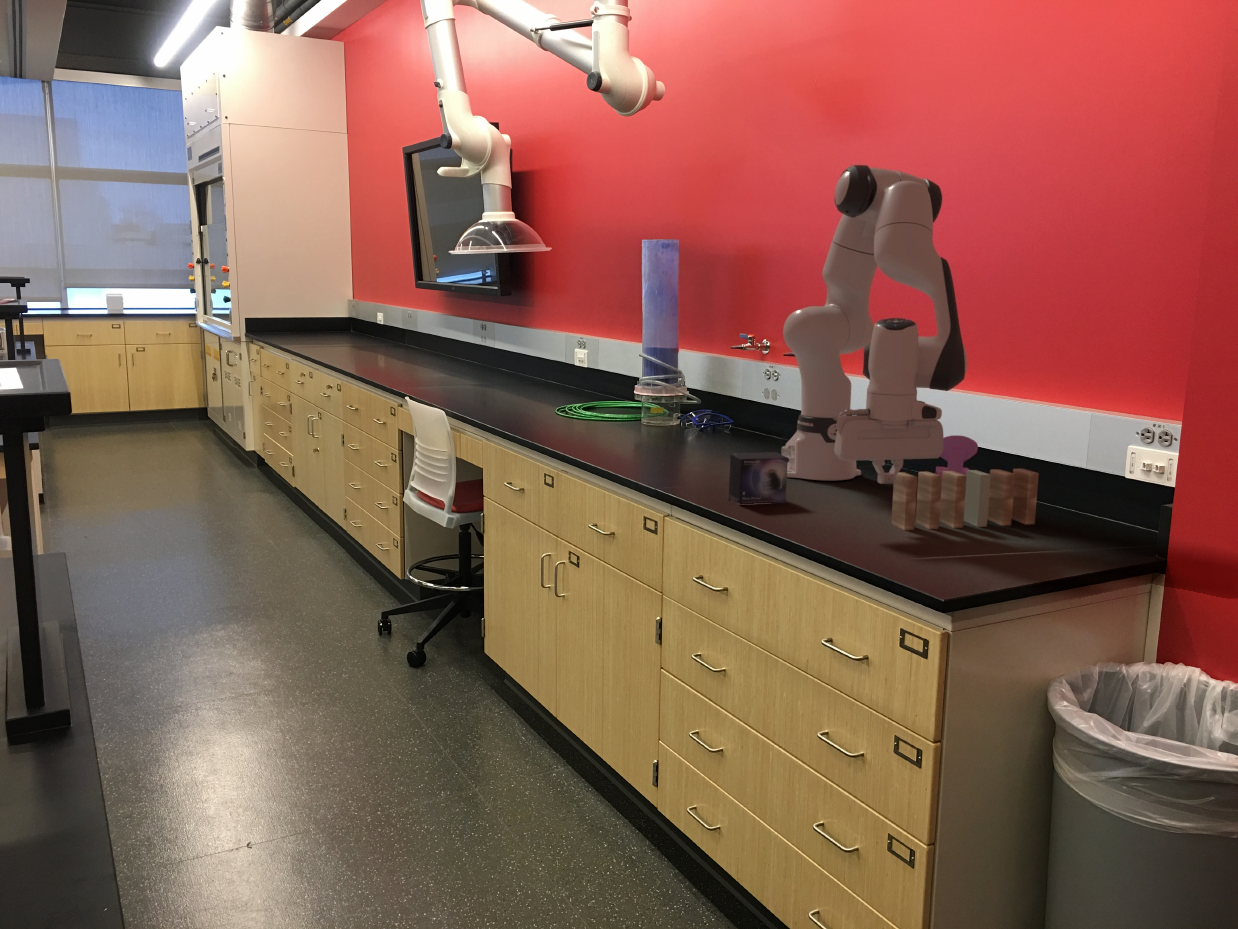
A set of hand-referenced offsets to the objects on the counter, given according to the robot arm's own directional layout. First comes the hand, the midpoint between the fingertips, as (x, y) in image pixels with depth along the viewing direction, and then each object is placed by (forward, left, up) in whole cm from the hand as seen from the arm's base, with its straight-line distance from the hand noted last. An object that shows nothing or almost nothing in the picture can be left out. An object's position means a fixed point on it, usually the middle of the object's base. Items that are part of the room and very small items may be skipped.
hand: (886, 483), depth 183 cm
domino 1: (0, +4, -9) cm, 9 cm away
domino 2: (0, +9, -8) cm, 12 cm away
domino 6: (0, +29, -8) cm, 30 cm away
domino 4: (0, +19, -9) cm, 20 cm away
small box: (-24, -16, -9) cm, 30 cm away
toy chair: (-16, +24, -9) cm, 30 cm away
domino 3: (0, +14, -8) cm, 16 cm away
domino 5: (0, +24, -9) cm, 25 cm away
